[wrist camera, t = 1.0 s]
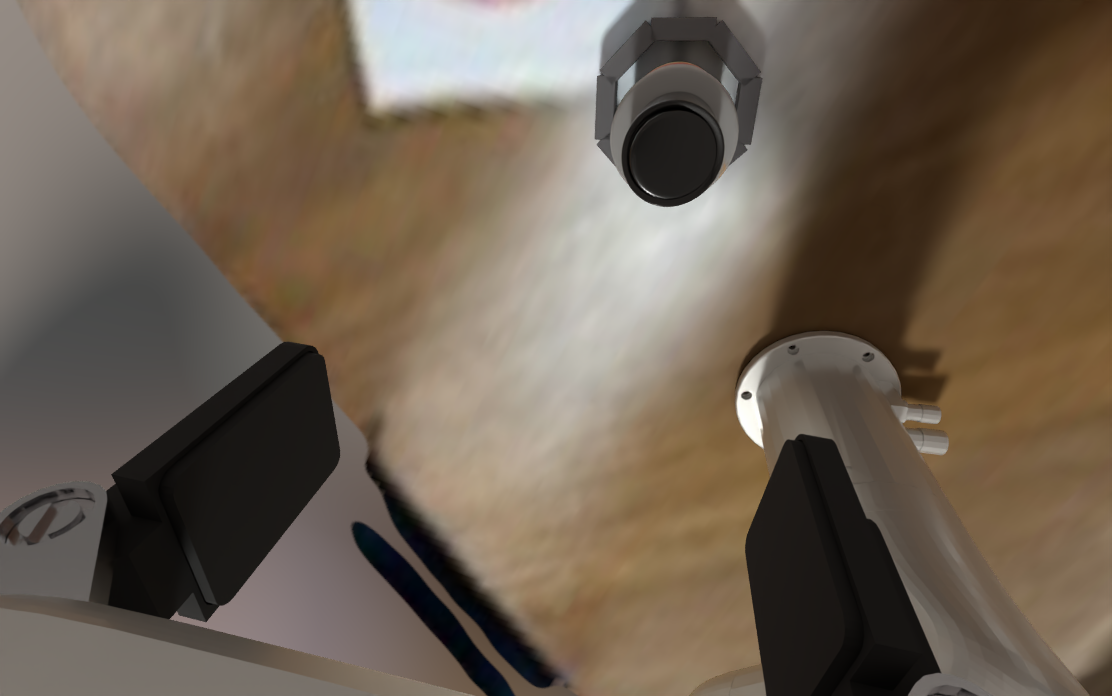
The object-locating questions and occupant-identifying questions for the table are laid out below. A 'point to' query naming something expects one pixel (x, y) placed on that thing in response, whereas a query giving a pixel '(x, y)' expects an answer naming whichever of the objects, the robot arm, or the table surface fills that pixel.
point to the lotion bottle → (674, 134)
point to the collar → (680, 31)
